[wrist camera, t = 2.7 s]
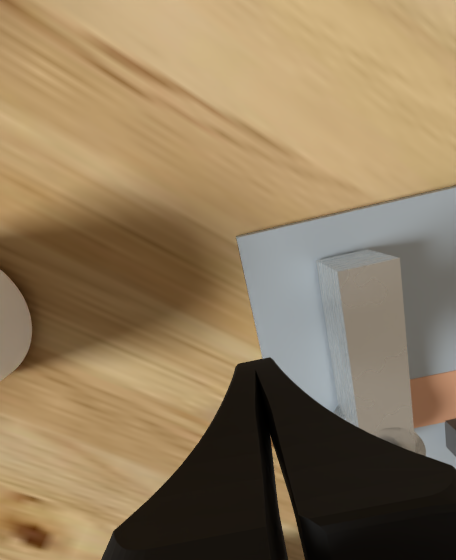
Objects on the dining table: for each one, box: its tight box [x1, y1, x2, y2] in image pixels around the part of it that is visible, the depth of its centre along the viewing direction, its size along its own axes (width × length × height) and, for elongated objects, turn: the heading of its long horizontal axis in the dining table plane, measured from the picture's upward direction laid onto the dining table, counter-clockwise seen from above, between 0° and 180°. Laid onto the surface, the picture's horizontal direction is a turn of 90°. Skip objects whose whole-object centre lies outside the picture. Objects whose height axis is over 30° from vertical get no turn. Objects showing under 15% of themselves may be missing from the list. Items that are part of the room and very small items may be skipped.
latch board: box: [236, 186, 456, 469], centre depth 15 cm, size 18×18×4 cm
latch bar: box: [316, 249, 426, 456], centre depth 14 cm, size 12×4×3 cm, turn 13°
